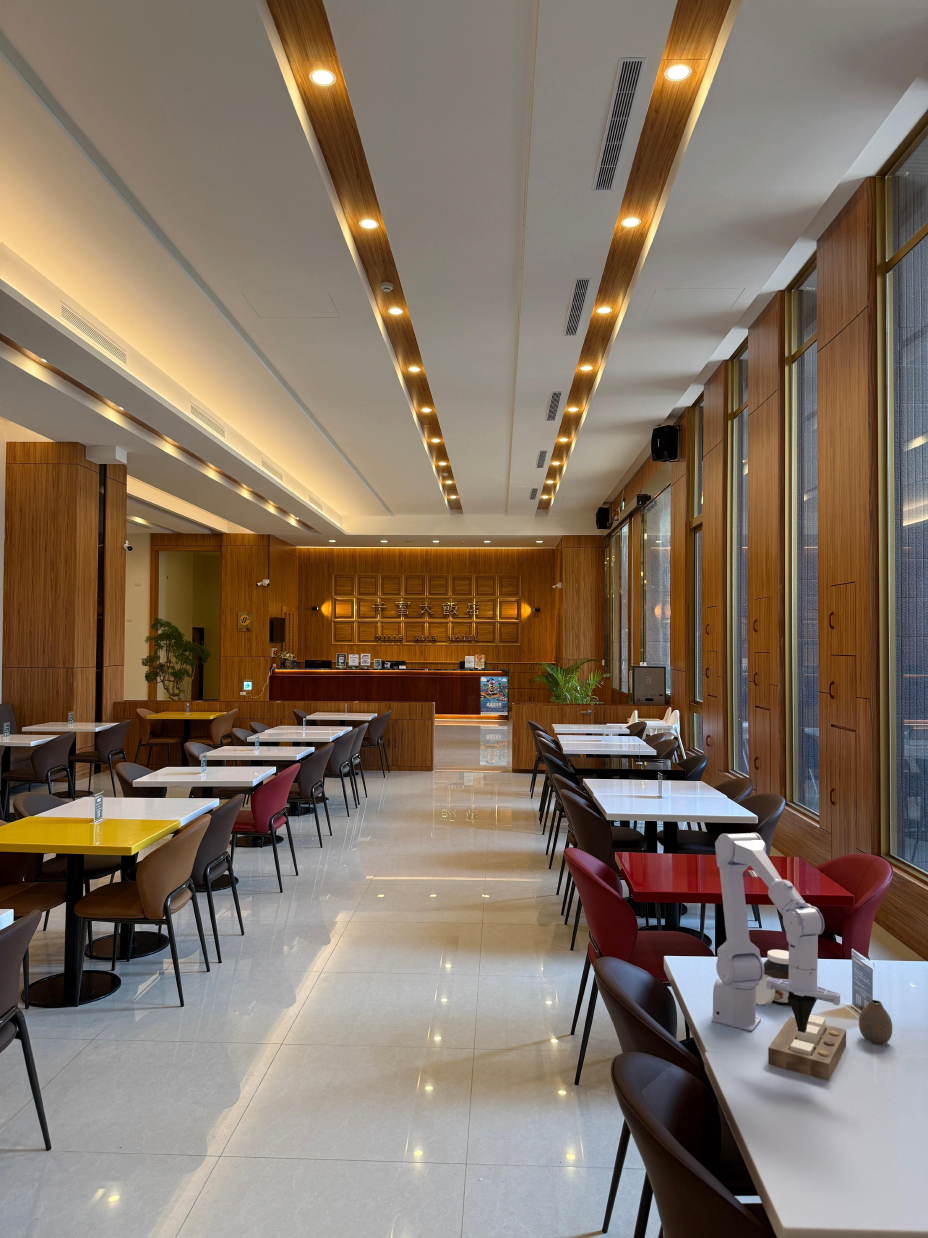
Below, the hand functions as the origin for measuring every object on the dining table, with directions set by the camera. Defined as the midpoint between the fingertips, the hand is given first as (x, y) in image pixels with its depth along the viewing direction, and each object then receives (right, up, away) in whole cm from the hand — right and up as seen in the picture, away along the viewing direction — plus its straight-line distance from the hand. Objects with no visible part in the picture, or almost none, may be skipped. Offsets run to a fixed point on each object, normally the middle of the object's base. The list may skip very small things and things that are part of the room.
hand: (802, 1030), depth 179 cm
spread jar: (+7, -9, +33) cm, 35 cm away
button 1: (0, -7, 0) cm, 7 cm away
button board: (+3, -8, +5) cm, 9 cm away
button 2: (+6, -6, +10) cm, 13 cm away
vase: (+22, -9, +13) cm, 27 cm away
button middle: (+3, -6, +5) cm, 8 cm away
